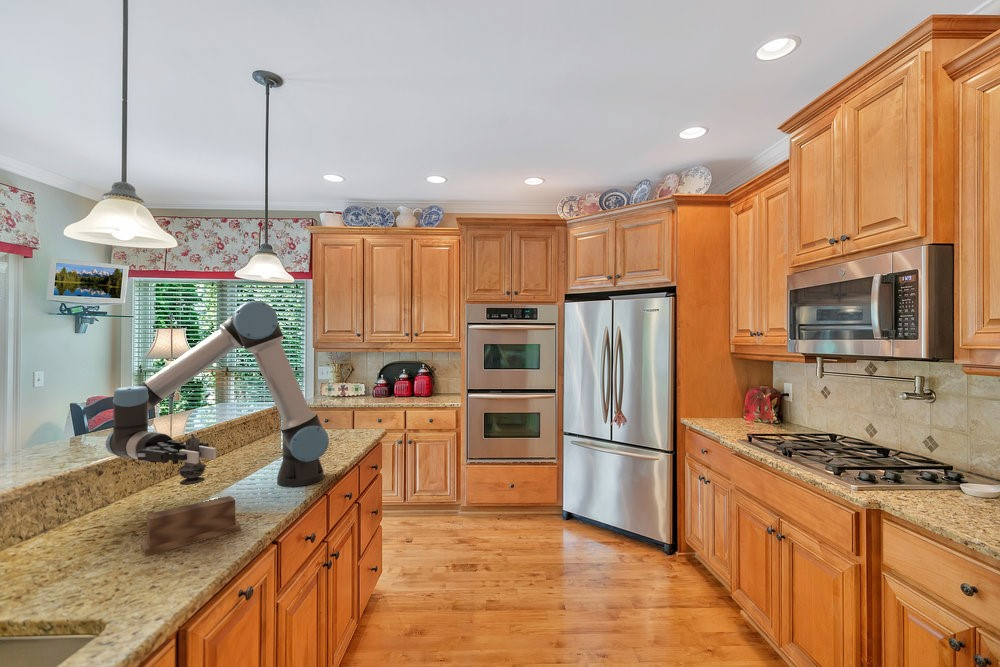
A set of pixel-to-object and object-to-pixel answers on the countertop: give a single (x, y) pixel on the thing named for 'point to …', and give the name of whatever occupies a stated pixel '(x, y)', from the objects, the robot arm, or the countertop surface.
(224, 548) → the countertop surface
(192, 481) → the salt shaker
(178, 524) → the ridge
